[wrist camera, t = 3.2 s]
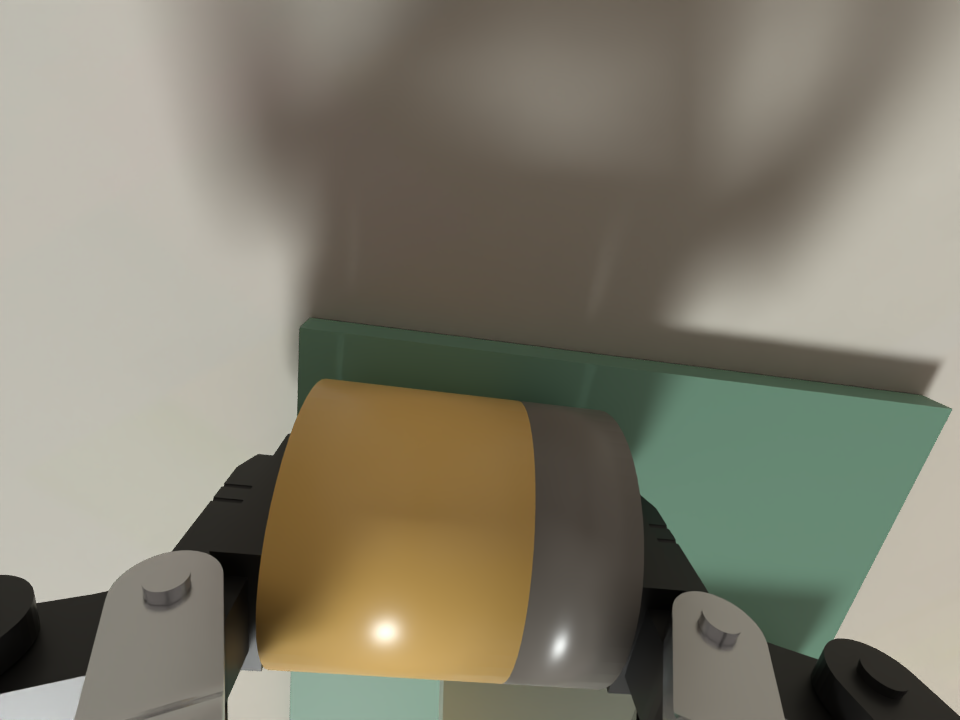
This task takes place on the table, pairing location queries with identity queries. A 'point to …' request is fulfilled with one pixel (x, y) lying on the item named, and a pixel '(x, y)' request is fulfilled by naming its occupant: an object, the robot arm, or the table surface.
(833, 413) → the green board
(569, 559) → the amber plug
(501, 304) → the table surface
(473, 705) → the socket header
